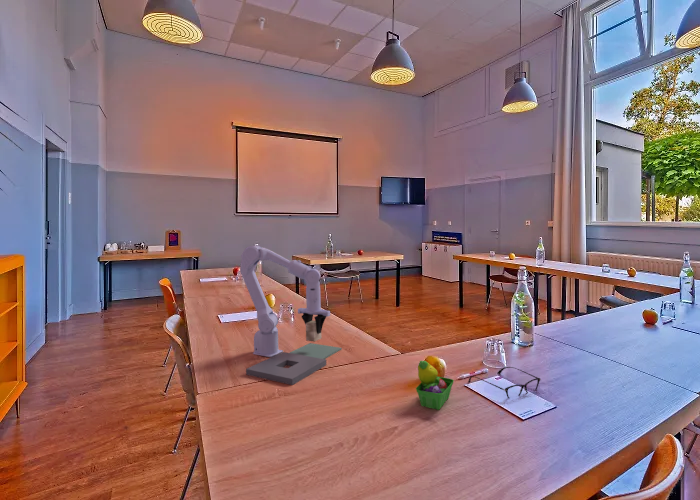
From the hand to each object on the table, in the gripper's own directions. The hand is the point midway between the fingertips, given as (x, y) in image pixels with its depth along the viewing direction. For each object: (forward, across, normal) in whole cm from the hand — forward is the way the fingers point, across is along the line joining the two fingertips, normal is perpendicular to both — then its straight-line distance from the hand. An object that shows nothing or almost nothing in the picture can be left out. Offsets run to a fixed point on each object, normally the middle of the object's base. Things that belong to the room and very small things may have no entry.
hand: (314, 332), depth 150 cm
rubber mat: (+8, 0, 0) cm, 8 cm away
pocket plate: (+8, +2, -20) cm, 22 cm away
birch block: (+3, 0, 0) cm, 3 cm away
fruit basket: (+8, +55, -21) cm, 59 cm away
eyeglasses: (+9, +71, -1) cm, 72 cm away
